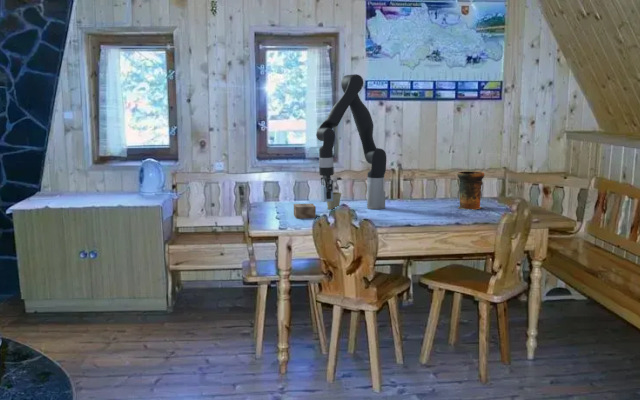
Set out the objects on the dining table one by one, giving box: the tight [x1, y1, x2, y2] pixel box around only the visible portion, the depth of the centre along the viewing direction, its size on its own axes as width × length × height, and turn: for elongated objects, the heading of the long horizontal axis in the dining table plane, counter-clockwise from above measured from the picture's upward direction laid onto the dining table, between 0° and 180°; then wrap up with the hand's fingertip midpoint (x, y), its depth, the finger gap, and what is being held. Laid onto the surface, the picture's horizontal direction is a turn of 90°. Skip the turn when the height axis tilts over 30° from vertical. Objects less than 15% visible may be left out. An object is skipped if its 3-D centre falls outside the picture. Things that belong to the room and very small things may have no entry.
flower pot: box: [326, 191, 343, 210], centre depth 352 cm, size 9×9×9 cm
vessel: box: [457, 170, 485, 211], centre depth 353 cm, size 14×14×20 cm
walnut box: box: [293, 203, 317, 219], centre depth 330 cm, size 10×10×6 cm
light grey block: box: [320, 185, 334, 203], centre depth 337 cm, size 5×5×8 cm
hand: (327, 197), depth 337 cm, fingers closed on light grey block, 5 cm apart
